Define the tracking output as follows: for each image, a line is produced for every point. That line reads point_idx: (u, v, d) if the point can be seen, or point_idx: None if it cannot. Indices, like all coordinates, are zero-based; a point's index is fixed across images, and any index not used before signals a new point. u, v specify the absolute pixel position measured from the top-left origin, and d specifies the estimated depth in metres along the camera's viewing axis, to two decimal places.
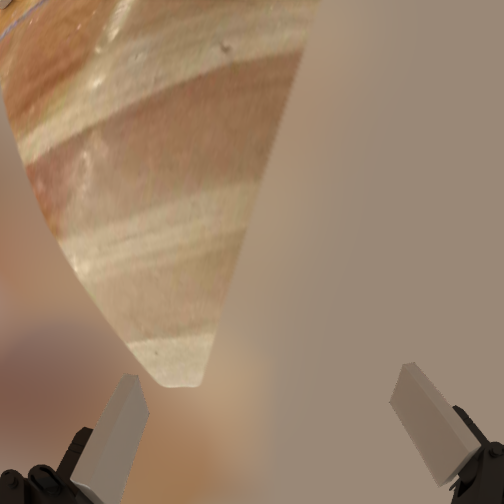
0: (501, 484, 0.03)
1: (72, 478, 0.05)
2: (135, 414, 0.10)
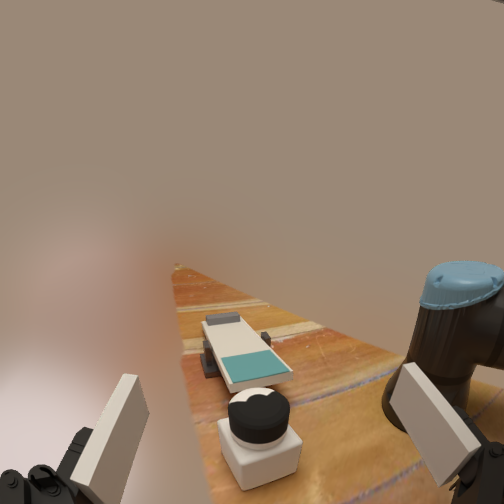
0: (501, 484, 0.03)
1: (72, 478, 0.05)
2: (135, 414, 0.10)
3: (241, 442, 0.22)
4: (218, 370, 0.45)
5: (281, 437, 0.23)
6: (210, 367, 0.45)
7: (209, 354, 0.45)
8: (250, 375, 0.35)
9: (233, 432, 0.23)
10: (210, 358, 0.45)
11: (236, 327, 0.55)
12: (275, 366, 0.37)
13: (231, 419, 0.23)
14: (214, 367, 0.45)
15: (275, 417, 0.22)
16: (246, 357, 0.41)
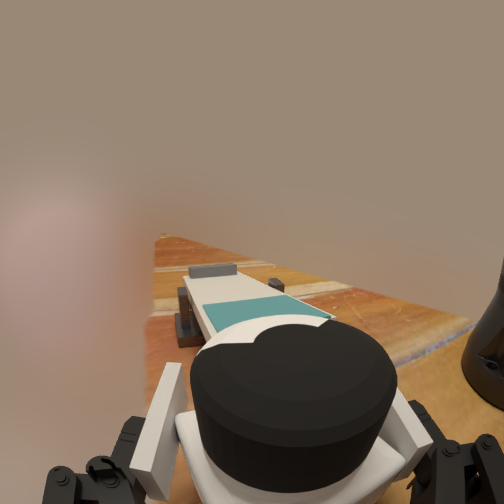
0: (462, 483, 0.04)
1: (132, 466, 0.06)
2: (180, 401, 0.11)
3: (236, 486, 0.06)
4: (200, 334, 0.28)
5: (365, 459, 0.06)
6: (187, 330, 0.29)
7: (186, 307, 0.28)
8: None
9: (209, 453, 0.06)
10: (187, 315, 0.29)
11: (231, 278, 0.39)
12: (302, 311, 0.21)
13: (198, 407, 0.06)
14: (194, 330, 0.29)
15: (369, 390, 0.06)
16: (247, 303, 0.24)
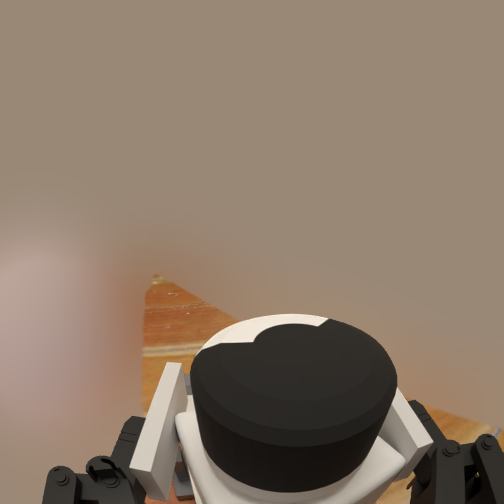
0: (462, 483, 0.04)
1: (132, 466, 0.06)
2: (180, 401, 0.11)
3: (236, 485, 0.06)
4: None
5: (365, 459, 0.06)
6: (185, 484, 0.19)
7: (181, 469, 0.18)
8: None
9: (209, 452, 0.06)
10: (184, 473, 0.19)
11: None
12: None
13: (198, 406, 0.06)
14: None
15: (369, 389, 0.06)
16: None
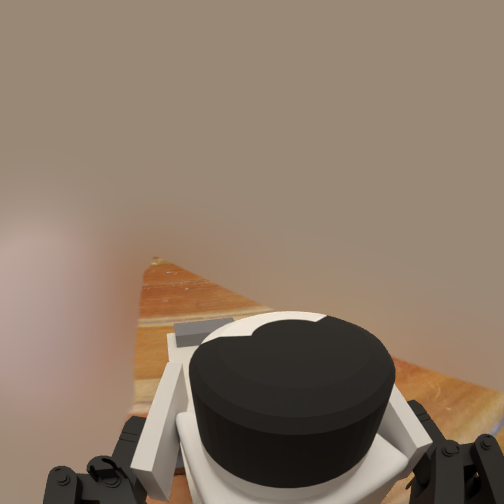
0: (461, 483, 0.04)
1: (133, 466, 0.06)
2: (180, 401, 0.11)
3: (233, 481, 0.06)
4: None
5: (365, 456, 0.06)
6: None
7: None
8: None
9: (206, 447, 0.06)
10: None
11: None
12: None
13: (195, 397, 0.06)
14: None
15: (365, 379, 0.06)
16: None
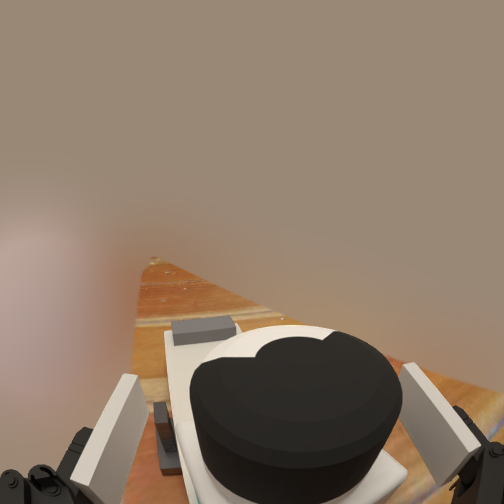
0: (501, 484, 0.03)
1: (72, 478, 0.05)
2: (135, 414, 0.10)
3: (235, 499, 0.05)
4: None
5: (366, 474, 0.06)
6: (172, 455, 0.17)
7: (167, 434, 0.17)
8: None
9: (208, 466, 0.06)
10: (170, 440, 0.17)
11: None
12: None
13: (197, 423, 0.06)
14: None
15: (373, 409, 0.05)
16: None
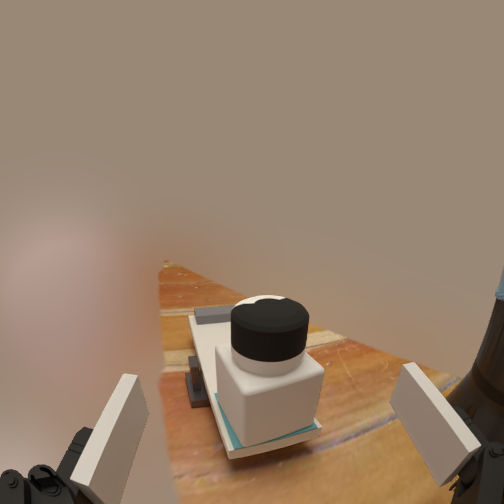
0: (501, 484, 0.03)
1: (72, 478, 0.05)
2: (135, 414, 0.10)
3: (245, 362, 0.19)
4: None
5: (298, 357, 0.20)
6: (198, 393, 0.31)
7: (197, 376, 0.31)
8: None
9: (235, 348, 0.20)
10: (198, 381, 0.31)
11: None
12: None
13: (234, 324, 0.20)
14: (204, 393, 0.31)
15: (292, 318, 0.19)
16: None
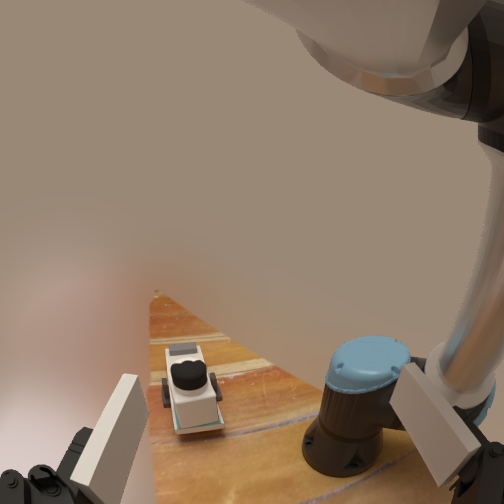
0: (501, 484, 0.03)
1: (72, 478, 0.05)
2: (135, 414, 0.10)
3: (177, 389, 0.40)
4: None
5: (200, 388, 0.41)
6: (168, 399, 0.52)
7: (166, 389, 0.52)
8: None
9: (173, 382, 0.41)
10: (167, 392, 0.52)
11: None
12: None
13: (171, 373, 0.41)
14: None
15: (194, 373, 0.40)
16: None
